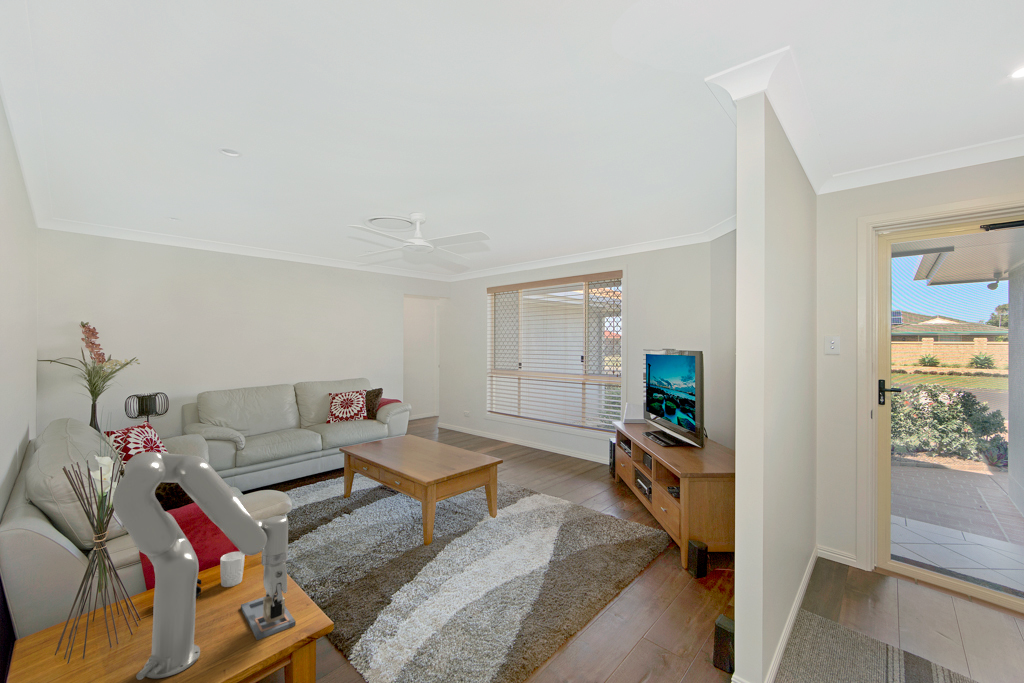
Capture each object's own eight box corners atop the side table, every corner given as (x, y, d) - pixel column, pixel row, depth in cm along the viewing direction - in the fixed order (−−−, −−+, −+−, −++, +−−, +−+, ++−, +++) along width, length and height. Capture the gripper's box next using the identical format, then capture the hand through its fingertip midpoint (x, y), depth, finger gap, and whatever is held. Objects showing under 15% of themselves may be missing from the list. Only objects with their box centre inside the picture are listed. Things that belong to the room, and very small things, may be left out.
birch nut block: (284, 617, 140) (284, 598, 140) (267, 623, 137) (267, 604, 137) (279, 610, 144) (280, 592, 144) (263, 616, 140) (263, 598, 140)
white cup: (248, 578, 168) (249, 552, 168) (233, 589, 160) (234, 561, 161) (229, 576, 169) (230, 550, 169) (214, 587, 161) (215, 560, 161)
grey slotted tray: (295, 626, 140) (295, 620, 140) (257, 641, 132) (257, 635, 132) (275, 597, 156) (276, 592, 156) (240, 608, 148) (240, 603, 148)
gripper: (295, 562, 137) (294, 620, 137) (279, 544, 149) (278, 597, 149) (269, 570, 132) (267, 630, 131) (255, 550, 144) (253, 605, 144)
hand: (273, 612), depth 140 cm, fingers closed on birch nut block, 5 cm apart
